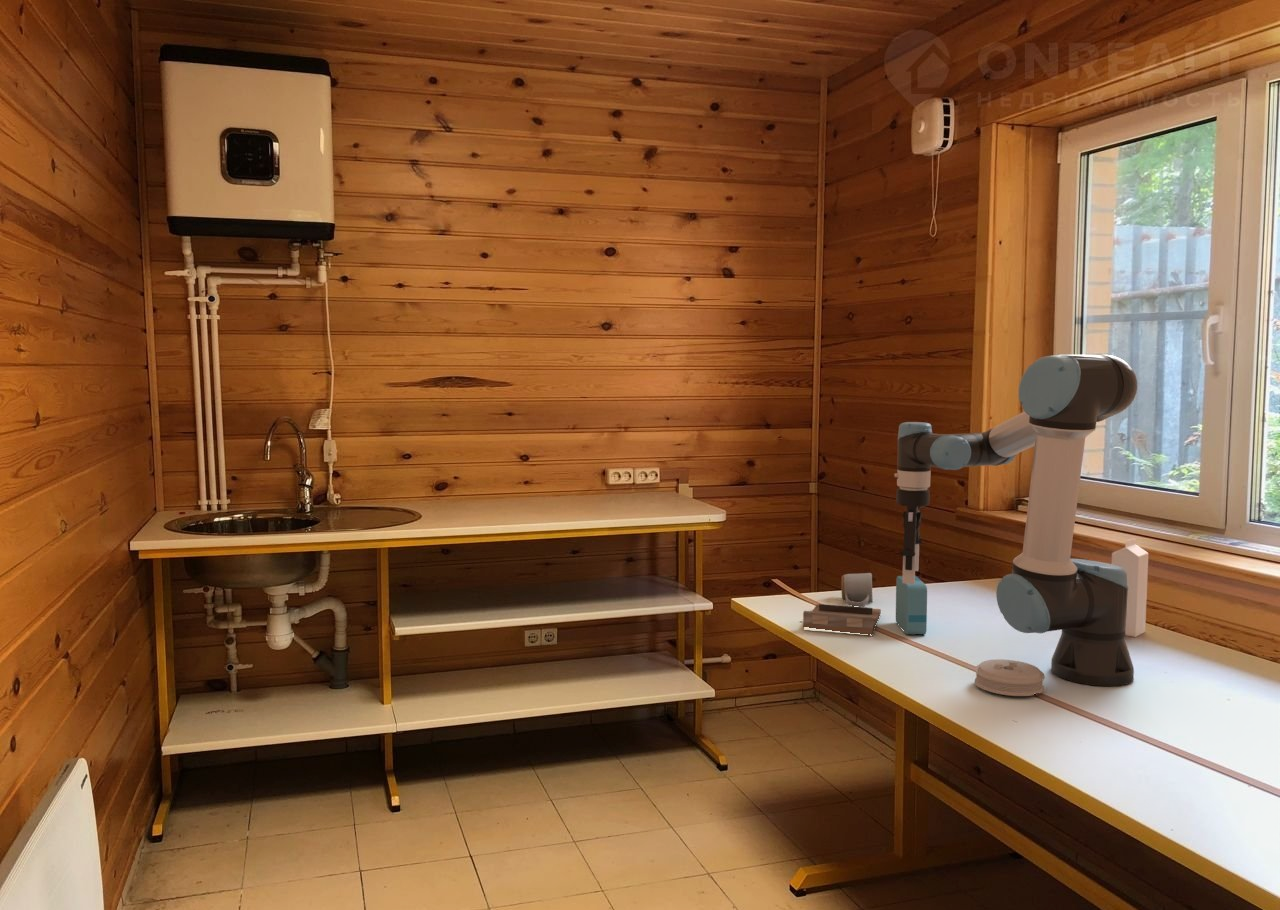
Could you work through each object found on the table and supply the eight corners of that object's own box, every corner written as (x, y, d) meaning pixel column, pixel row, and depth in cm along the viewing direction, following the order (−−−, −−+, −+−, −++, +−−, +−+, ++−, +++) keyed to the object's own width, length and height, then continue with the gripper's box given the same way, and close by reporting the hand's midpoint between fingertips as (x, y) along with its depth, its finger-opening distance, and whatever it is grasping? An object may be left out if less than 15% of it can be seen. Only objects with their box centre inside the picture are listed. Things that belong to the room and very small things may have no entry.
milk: (1145, 632, 225) (1150, 539, 222) (1135, 637, 221) (1140, 542, 218) (1118, 627, 229) (1122, 535, 227) (1107, 632, 225) (1112, 539, 223)
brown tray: (871, 636, 223) (872, 617, 222) (802, 630, 228) (803, 612, 227) (880, 615, 242) (880, 597, 241) (816, 610, 247) (817, 592, 247)
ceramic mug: (841, 597, 261) (841, 569, 260) (872, 598, 259) (872, 570, 258) (841, 607, 250) (841, 578, 249) (873, 608, 249) (873, 579, 248)
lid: (960, 683, 191) (961, 659, 190) (1011, 675, 195) (1012, 651, 195) (1005, 704, 179) (1006, 678, 178) (1058, 695, 183) (1059, 670, 183)
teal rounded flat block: (926, 636, 223) (927, 585, 221) (906, 636, 223) (907, 585, 222) (913, 622, 235) (914, 574, 233) (895, 622, 235) (896, 574, 234)
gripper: (900, 480, 238) (898, 564, 241) (891, 494, 215) (889, 587, 217) (932, 481, 236) (929, 566, 238) (926, 496, 212) (924, 590, 215)
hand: (910, 576), depth 228 cm, fingers open, 13 cm apart
